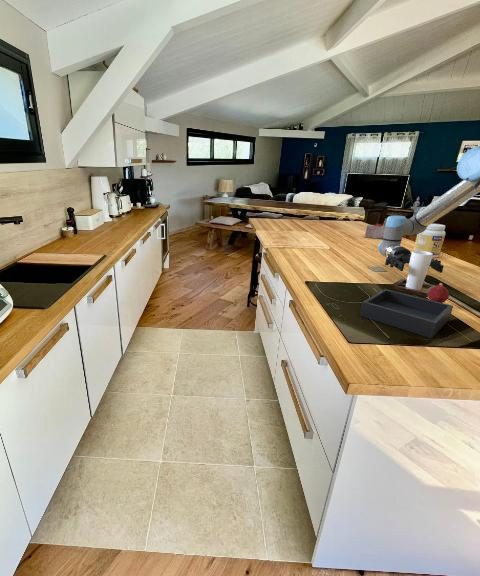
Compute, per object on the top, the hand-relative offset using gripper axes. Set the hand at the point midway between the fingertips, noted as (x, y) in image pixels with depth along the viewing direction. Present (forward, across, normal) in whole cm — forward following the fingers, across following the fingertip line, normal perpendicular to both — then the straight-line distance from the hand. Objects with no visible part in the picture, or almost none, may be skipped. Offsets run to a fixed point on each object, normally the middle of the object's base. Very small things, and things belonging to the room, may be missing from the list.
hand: (422, 268), depth 120 cm
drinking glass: (-3, 0, -10) cm, 10 cm away
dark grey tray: (+26, +15, -9) cm, 32 cm away
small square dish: (-3, 0, -9) cm, 10 cm away
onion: (+13, -1, -10) cm, 16 cm away
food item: (-107, -20, -10) cm, 109 cm away
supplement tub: (-60, -30, -10) cm, 67 cm away
